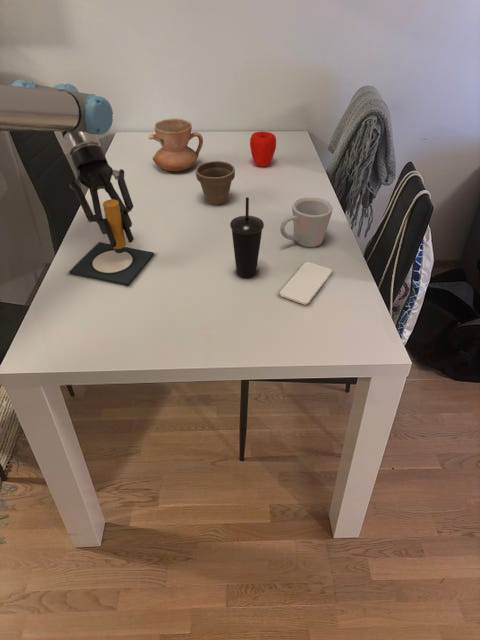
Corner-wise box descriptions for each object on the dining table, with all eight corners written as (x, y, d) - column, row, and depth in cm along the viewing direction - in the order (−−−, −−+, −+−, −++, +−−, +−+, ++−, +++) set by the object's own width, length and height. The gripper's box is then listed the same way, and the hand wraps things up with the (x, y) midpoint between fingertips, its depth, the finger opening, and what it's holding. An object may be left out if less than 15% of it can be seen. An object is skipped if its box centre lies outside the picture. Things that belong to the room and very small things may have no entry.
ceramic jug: (151, 177, 157) (146, 133, 148) (151, 159, 168) (146, 118, 159) (206, 174, 159) (204, 131, 150) (202, 156, 170) (200, 115, 161)
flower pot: (209, 213, 139) (207, 180, 133) (190, 197, 147) (188, 166, 140) (242, 203, 144) (242, 171, 137) (222, 188, 151) (222, 157, 145)
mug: (336, 243, 127) (341, 209, 121) (290, 259, 122) (293, 225, 115) (312, 226, 134) (316, 193, 127) (268, 240, 128) (269, 207, 122)
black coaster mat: (69, 273, 117) (69, 270, 116) (99, 244, 127) (98, 241, 126) (128, 286, 113) (127, 283, 112) (154, 254, 123) (153, 251, 122)
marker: (109, 253, 118) (99, 205, 109) (117, 245, 120) (107, 198, 112) (122, 255, 117) (113, 207, 108) (129, 248, 120) (121, 200, 111)
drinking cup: (238, 285, 113) (238, 209, 100) (226, 268, 119) (224, 193, 105) (267, 277, 116) (270, 202, 102) (253, 260, 121) (255, 187, 108)
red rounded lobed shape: (272, 158, 169) (274, 127, 162) (277, 168, 163) (279, 137, 155) (247, 159, 168) (248, 128, 161) (251, 170, 162) (252, 138, 154)
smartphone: (278, 293, 110) (306, 261, 119) (278, 295, 110) (305, 263, 120) (307, 303, 107) (333, 269, 117) (306, 306, 107) (332, 272, 117)
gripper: (117, 151, 120) (151, 238, 120) (50, 166, 113) (87, 257, 114) (121, 137, 113) (158, 229, 113) (51, 151, 106) (90, 248, 107)
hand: (123, 243), depth 114 cm, fingers closed on marker, 4 cm apart
